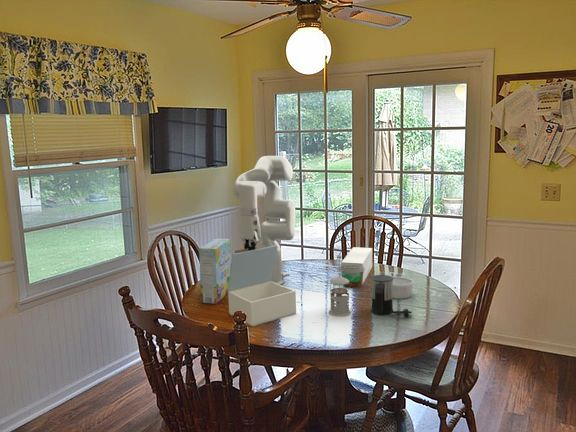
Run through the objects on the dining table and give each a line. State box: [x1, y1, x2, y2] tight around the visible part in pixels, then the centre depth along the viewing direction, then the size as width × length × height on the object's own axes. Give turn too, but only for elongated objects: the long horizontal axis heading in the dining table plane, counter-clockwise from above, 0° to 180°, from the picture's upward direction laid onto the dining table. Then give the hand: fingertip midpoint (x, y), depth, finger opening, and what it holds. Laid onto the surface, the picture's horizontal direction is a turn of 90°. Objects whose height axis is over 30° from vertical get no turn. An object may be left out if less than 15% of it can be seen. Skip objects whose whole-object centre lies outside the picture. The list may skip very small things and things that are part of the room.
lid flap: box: [227, 245, 277, 291], centre depth 219 cm, size 22×18×5 cm
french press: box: [327, 254, 352, 318], centre depth 214 cm, size 10×12×25 cm
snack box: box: [198, 238, 232, 305], centre depth 238 cm, size 22×9×26 cm, turn 168°
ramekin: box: [392, 276, 414, 300], centre depth 234 cm, size 13×13×7 cm
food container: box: [340, 264, 365, 289], centre depth 247 cm, size 12×6×10 cm, turn 68°
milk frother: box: [370, 274, 412, 317], centre depth 211 cm, size 14×16×15 cm
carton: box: [227, 281, 297, 328], centre depth 215 cm, size 22×18×10 cm
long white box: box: [340, 246, 373, 285], centre depth 268 cm, size 32×11×11 cm, turn 162°
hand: (250, 254), depth 217 cm, fingers closed on lid flap, 2 cm apart
